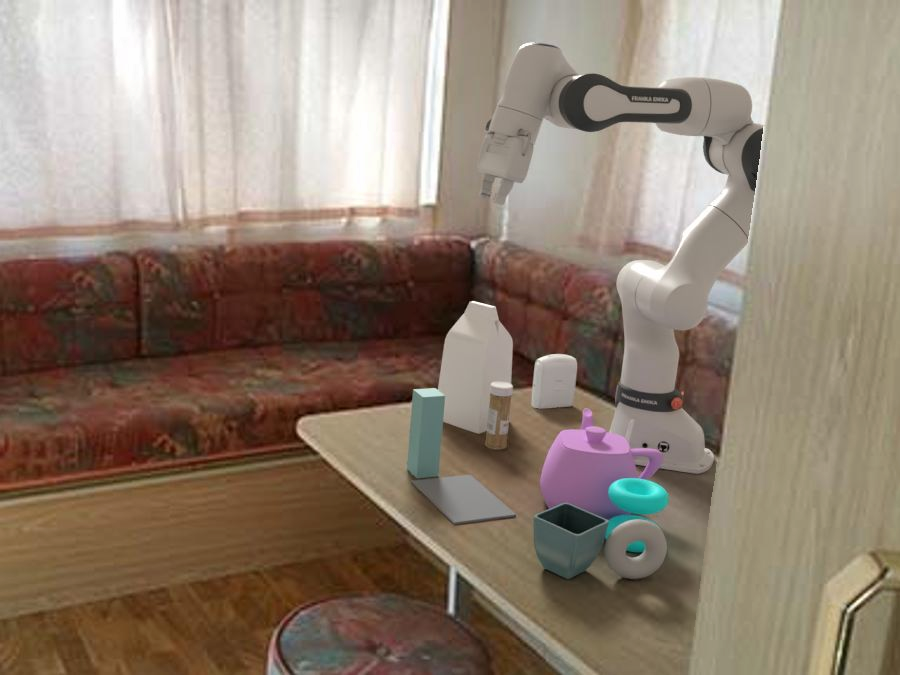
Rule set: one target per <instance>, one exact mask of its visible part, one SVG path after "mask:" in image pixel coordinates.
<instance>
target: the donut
mask: <svg viewBox="0 0 900 675" xmlns="http://www.w3.org/2000/svg"><path fill="white" fill-rule="evenodd" d="M655 524H656V523H655ZM655 524H653V523H651V522H649V521H646V520H640V519H636V520H629V521H626V522H624V523H622V524H620V525H618V526H617V527H616V528H615V529H614V530H613V531H612V532H611V533H610V535H609V536H608V538H607V540H606V539H605V541H606V542H605V543H604V547H603V548H604V549H603V550H604V559H605V561H606V564H607V567H608V568H610V570H611V571H612V572H614V574H615V575H618V576H619V577H621V578H623V579H629V580H638V579H644V578H646V577H648V576H650V575H652V574H653V573H655V572H656V571H657V570H659V568H660V567H661V566H662V564H663V563H664V561H665V558H666V555H667V552H668V547H667V546H668V544H667V540H666V536H665V534H664V532H663V530H660V529H661V528H660V526H659V525H657V524H656V525H655ZM659 528H660V529H659ZM635 541H642V542H644V543H645V550H644V552H641V554H639V555H638V556H634V557H631V556H628V554H627V551H626V549H627V547H628V546H629V545H630V544H631V543H633V542H635Z"/></svg>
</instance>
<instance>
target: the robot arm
mask: <svg viewBox="0 0 900 675" xmlns="http://www.w3.org/2000/svg"><path fill="white" fill-rule="evenodd" d="M752 112H753V102H752V96H751V94H750V92H749V91H748V90H747V89H746V88H745V87H744V86H743V85H741V84H738V83H734V82H731V81H726V80H722V79H717V78H711V77H696V76H694V77H693V76H692V77H689V76H687V77H678V78H677V77H676V78H671V79H666V80H664V81H663V82H661V83H660V84H659V85H658V86H657V87H646V86H627V85H621V84H619V83H617V82H615V81H614V80H612V79H611V78H609V77H607V76H604V75H603V74H602V75H601V74H599V73H585V74H582V75H581V74H580V73H579V72H577V71H576V70H575V69H574V68H573V67H572V66H571V64H569V62H568V61H567V59H566V57H565V56H564V55H563V52H562V49H561V48H559V47H558V46H556V45H553V44H550V43H543V42H527V43H524V44H522V45H520V47H519V48H518V49H517V51H516V53H515V54H514V57H513V59H512V61H511V64H510V66H509V68H508V72H507V74H506V77H505V80H504V83H503V92H502V95H501V98H500V100H499V101H498V102H497V105H496V107H495V110H494V113H493V115H492V117H491V118H490V119H488V120H487V122H486V123H485V125H484V126H485V127H484V128H483V130H484V131H483V132H485V133H486V134H485V136H484V138H483V140H482V144H481V147H480V151H479V155H478V159H477V163H476V165H477V166H476V171H477V172H479V173H481V174H482V177H481V184H480V190H479V194H478V197H479V198H480V199H482V200H486V201H489V200H490V198H491V195H492V188H493V184H494V183H495V180H496V178H497V179H500V180H499V187H498V189H497V191H496V192H495V193H494V197H493V199H492V200H493V203H495V204H497V205H501V206H503V205H505V202H506V200H507V197H508V195H509V194H510V192H511V191H512V189H513V188H514V184H515V183H518V184H522V183H523V182H524V181H525V179H526V177H527V174H528V172H529V168H530V164H531V161H532V157H533V154H534V146H535V144H536V141H537V138H538V136H539V132H540V129H541V127H542V124H543V120H544V119H545V120H547V121H548V122H550V123H551V124H553V125H555V126H557V127H559V128H564V129H572V130H579V131H582V132H584V133H585V132H586V133H595V132H600V131H603V130H605V129H607V128H609V127H611V126H613V125H616V124H619V123H645V124H647V123H648V124H650V123H652V124H655V125H656V127H657V128H658V129H659V130H660V131H662V132H665V133H668V134H672V135H676V136H677V135H678V136H687V137H703V143H702V144H703V145H702V148H703V157H704V159H705V161H706V163H707V164H708V165H709V166H710V168H712V169H713V170H715V171H716V172H717V173H720V174H724V175H727V180H726V183H724V184H725V185H724V187H723V188H722V190H721V192H720V193H719V195H717V196H716V197H715V198H714V199H712V200H711V202H710V203H708V205H706V207H705V208H704V209H703V210H702V211H701V212H700V213H699V214H698V215H697V216H696V217H695V218H694V219H693V220H692V221H691V222H690V223H689V224H688V225H687V226H686V227H685V229H683V230H682V231H681V233H680V236H679V244H678V247H677V250H676V251H675V253H674V255H673V257H672V258H671V260H670V261H669V262H668V263H667V264H666V265H664V264H662V263H660V262H658V261H655V260H651V259H637V260H632V261H629V262H628V263H627V264H625V265H624V266H623V267H622V268H621V270H620V271H619V273H618V275H617V278H616V283H615V284H616V291H617V294H618V296H619V299H620V302H621V309H622V322H623V333H624V334H623V335H624V346H623V348H624V350H623V359H622V366H621V374H620V380H619V381H618V382H617V386H616V389H615V390H616V391H615V400H614V402H615V404H614V406H615V410H614V415H613V419H612V422H611V426H610V429H609V431H608V433H614V434H618V435H621V436H623V437H624V438H625V439H626V440H627V441H628V443H629V446H630V449H637V448H649V449H656V450H658V451H660V452H661V453H662V455H663V461H662V463H661V465H660V467H659V469H662V470H663V469H664V470H669V471H676V472H682V473H689V474H702V473H705V472H707V471H709V470H710V469H711V468H712V466H713V465H714V462H715V456H714V453H713V451H711V450H710V449H709V448H706V445H705V434H704V430H703V427H702V426H700V424H699V423H698V422H696V420H694V418H693V417H692V416H690V414H689V413H687V411H685V410H684V409H683V402H684V394H685V393H684V391H681V392H680V391H679V390H678V389H677V388H676V387H675V386H676V380H677V374H678V366H679V361H680V360H679V359H680V350H679V346H678V343H677V339H676V337H675V336H676V335H675V331H688V330H691V329H693V328H695V327H697V326H698V325H699V324H700V323H701V322H702V321H703V320H704V318H705V316H706V314H707V312H708V307H709V302H708V300H709V295H710V292H711V291H712V288H713V287H714V285H715V283H716V281H717V279H718V278H719V276H720V274H722V272H723V271H724V269H725V268H726V267H727V266H728V265H729V264H730V263H731V262H732V261H733V260H734V259H735V258H736V256H737V255H739V253H740V252H741V251H743V249H744V248H745V247H746V246H747V245H748V244H749V243H748V236H749V230H750V223H751V215H752V208H753V202H754V195H755V188H756V180H757V172H758V165H759V159H760V150H761V141H762V134H763V126H765V125H764V124H761V123H757V122H756V123H755V122H754V121H753V119H752ZM747 243H748V244H747ZM633 459H634V462H635V466H637V465H638V466H642V467H643V466H644V467H646V466H647V464H648V462H649V458H648V457H644V456H635V457H633Z"/></svg>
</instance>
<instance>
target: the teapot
mask: <svg viewBox="0 0 900 675" xmlns="http://www.w3.org/2000/svg"><path fill="white" fill-rule="evenodd" d="M593 415H594V413H593V412H592V411H591V409H590V408H586V407H585V408H584V409H583V411H582V419H581V420H582V421H581V426H580V429H572V428H571V429H564V430H561V431H560V432H559V433H558V435H557V436H556V438H555V440H554V441H553V442H552V445H551V446H550V448H549V450H548V451H547V454H546V457H545V460H544V464H543V466H542V470H541V475H540V480H539V485H540V492H541V495H542V496H543V497H542V498H543V500H544V502H545V505H546V506H547V508H548V509H551V508H553V507H555V506H557V505H559V504H562V503H569V504H572V505H574V506H576V507H579V508H581V509H583V510H586V511H588V512H590V513H593V514H595V515H597V516H600V517H602V518H604V519H607V520H609V519H611V518H613V517H615V516H619V515H632V513H630V512H627V511H624V510H622V509H620V508H618V507H617V506H616V505H614V504H613V503H612V501H611V500H610V498H609V494H608V491H609V487H610V486H611V484H612V483H613V482H615V481H617V480H619V479H624V478H639V479H644V480H648V481H649V480H650V478H652V476H654V475H655V474H656V473H657V471H658V470H659V469H660V468H659V467H660V465H661V463H662V461H663V455H662V453H661V452H660V451H658V450H656V449H649V448H637V449H630V446H629V443H628V441H627V440H626V439H625V438H624V437H623V436H621V435H618V434H614V433H609V431H608V432H607V430H606V429H605V428H603V427H599V426H595V425H594V416H593ZM635 456H644V457H648V458H649V462H648V464H647V466H645V468H644V470H643V471H642V473H640V475H639V476H638V471H637V467H636V466H637V465H636V464H635V462H634V459H633V457H635Z"/></svg>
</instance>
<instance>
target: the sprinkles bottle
mask: <svg viewBox="0 0 900 675" xmlns="http://www.w3.org/2000/svg"><path fill="white" fill-rule="evenodd" d="M513 391H514V386H513V384H512V383H511V384H510V383H507V382H501V381H497V382H492V383H491V385H490V403H489V410H488V421H487V431H486V435H485V436H486V437H485V442H484V445H485V447H486V448H488V449H489V450H493V451H502V450H505V449H506V448H507V447H508V445H507V444H508V443H507V440H508V433H509V426H510V425H509V423H510V412H511V403H512V402H511V400H512V395H513Z"/></svg>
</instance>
